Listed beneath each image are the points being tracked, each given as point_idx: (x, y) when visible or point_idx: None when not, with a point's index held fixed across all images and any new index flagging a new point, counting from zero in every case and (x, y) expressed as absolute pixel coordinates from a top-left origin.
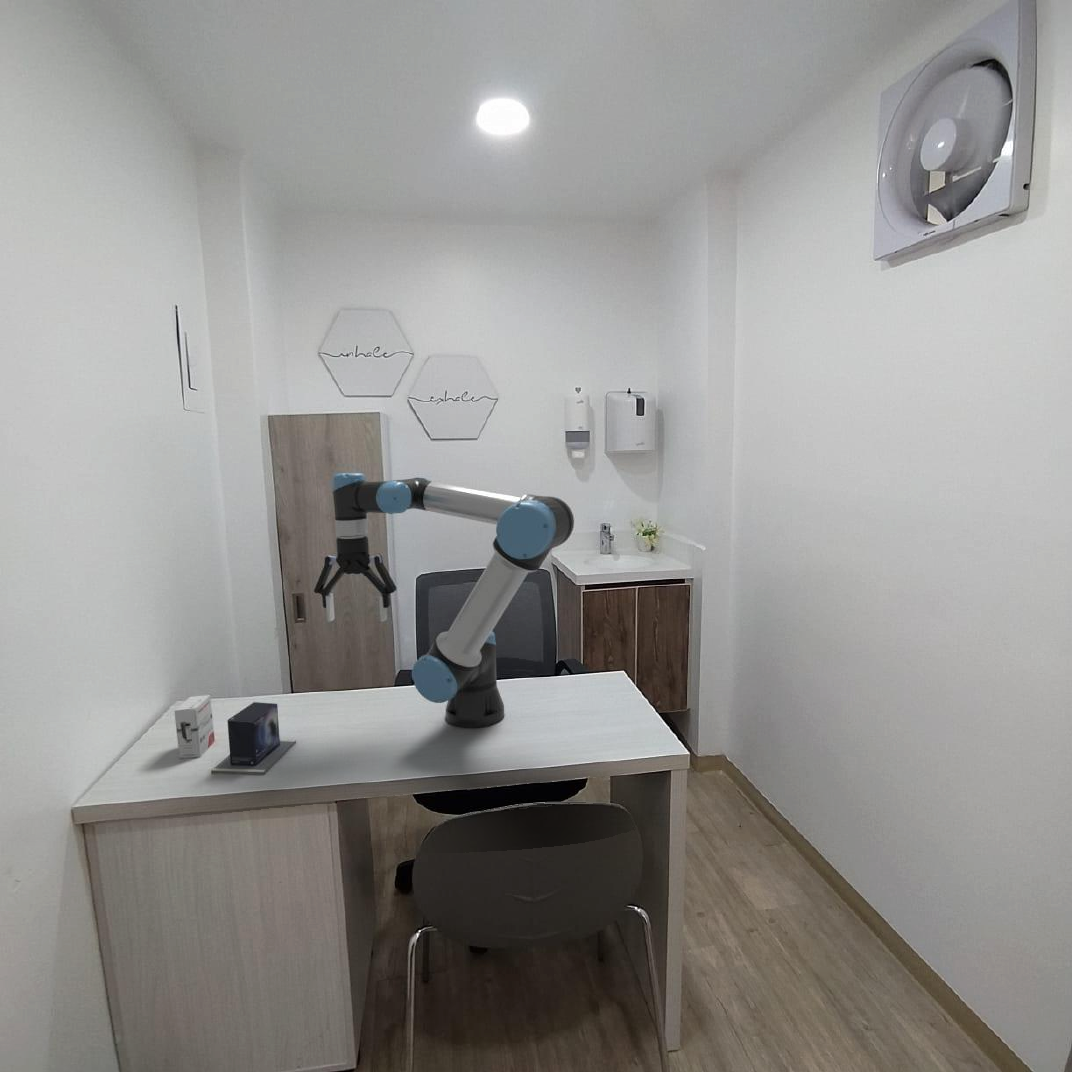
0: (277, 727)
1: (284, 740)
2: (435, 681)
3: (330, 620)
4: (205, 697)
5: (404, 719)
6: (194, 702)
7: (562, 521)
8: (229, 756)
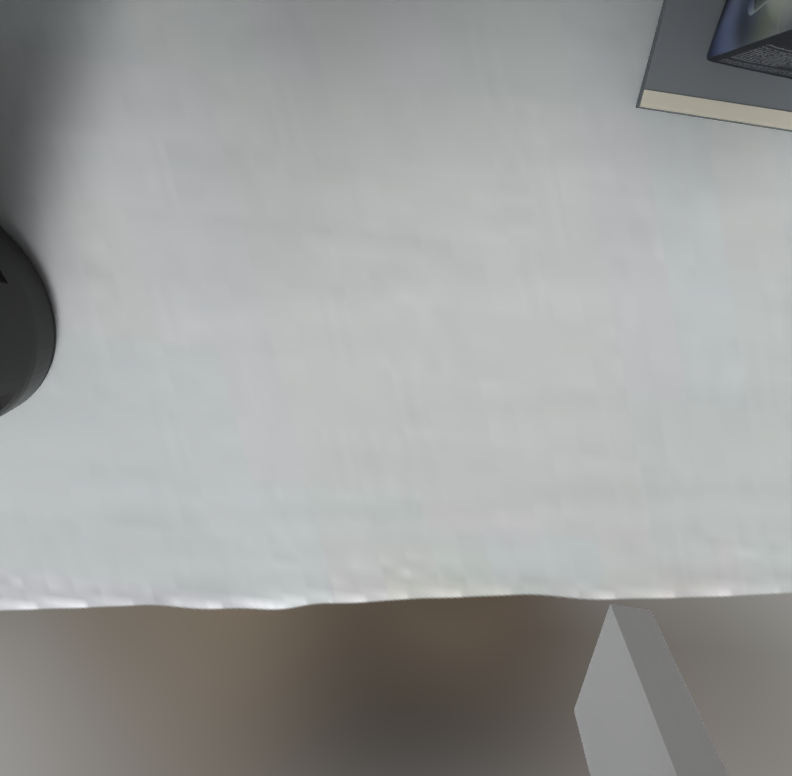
0: (755, 17)
1: (693, 107)
2: None
3: (612, 620)
4: None
5: (216, 305)
6: None
7: None
8: None
